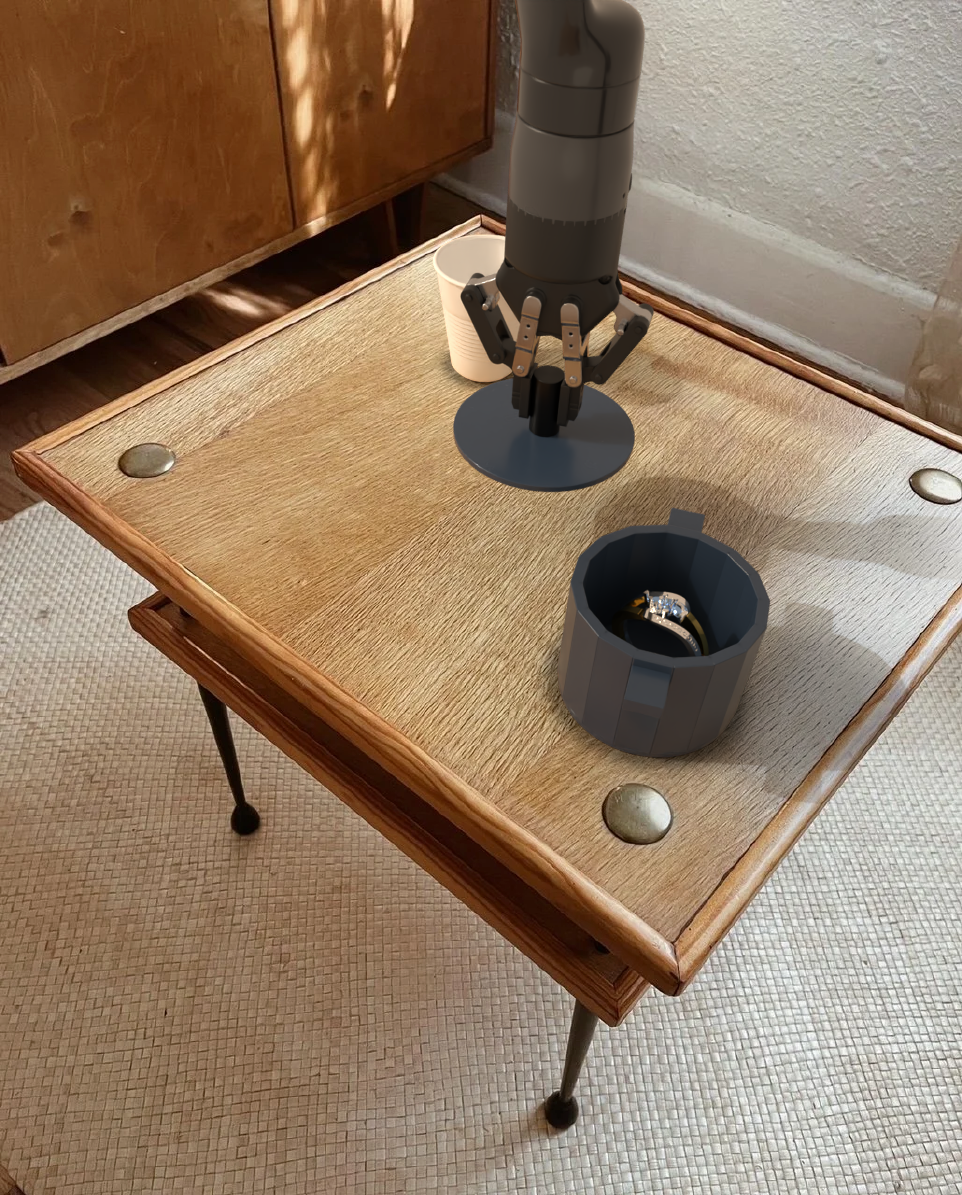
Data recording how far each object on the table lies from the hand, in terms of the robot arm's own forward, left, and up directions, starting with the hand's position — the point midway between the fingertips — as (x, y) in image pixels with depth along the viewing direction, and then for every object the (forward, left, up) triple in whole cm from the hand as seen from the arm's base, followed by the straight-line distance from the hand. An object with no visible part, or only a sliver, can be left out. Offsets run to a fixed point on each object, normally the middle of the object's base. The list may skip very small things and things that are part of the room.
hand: (545, 415), depth 76 cm
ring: (-12, +14, -10) cm, 21 cm away
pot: (-12, +14, -11) cm, 21 cm away
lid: (0, 0, -2) cm, 2 cm away
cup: (+10, -20, -11) cm, 25 cm away
